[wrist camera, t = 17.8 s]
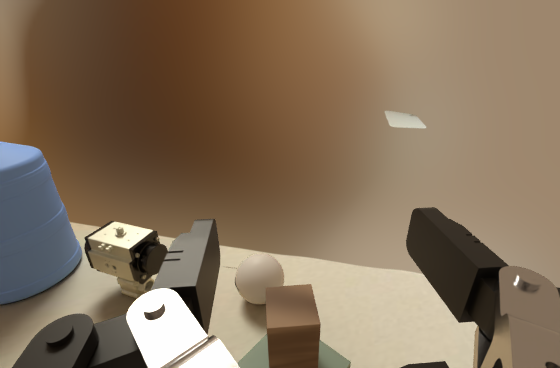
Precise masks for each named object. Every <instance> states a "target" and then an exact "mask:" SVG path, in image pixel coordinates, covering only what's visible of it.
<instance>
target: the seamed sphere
mask: <svg viewBox="0 0 560 368" xmlns="http://www.w3.org/2000/svg"><path fill="white" fill-rule="evenodd" d="M228 268H231V267H228ZM236 269H237V272H236V277H235V285H236V287H237V289H238V292H239V293H240V295H241V296H242V297H243V298H244V299H245V300H247V301H248V302H250V303H253V304H265V303H266V294H265V288H266V287H280V286H283V283H284V273H283V269H282V267H281V265H280V263H279V262H278V261H277V260H276V259H275V258H274V257H272V256H270V255H268V254H264V253H256V254H253V255H250V256H249V257H247V258H246V259H244V260H243V261H242V262H241V264H240V265H239V267H238V268H236Z"/></svg>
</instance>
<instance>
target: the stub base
mask: <svg viewBox="0 0 560 368" xmlns="http://www.w3.org/2000/svg"><path fill="white" fill-rule="evenodd" d="M237 364H238V366H239V367H240V368H269V356H268V339H267V334H266V335H265V336H264V337H263V338H262V339H261V340H260V341H259V342H258V343H257V344H256V345H255V346H254V347H253V348H252V349H251V350H250V351H249V352H248V353H247V354H246V355H245V356H244V357H243V358H242V359H241V360H240V361H239V362H238V363H237ZM350 364H351V362H350V361H349V360H347V359H346V358H344V357H343V356H342V355H340V354H339V353H337V352H336V351H335V350H333V349H332V348H330V347H329V346H328V345H326V344H325V343H323V342H322V341H321V340H320V341H319V359H318V368H350Z"/></svg>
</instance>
